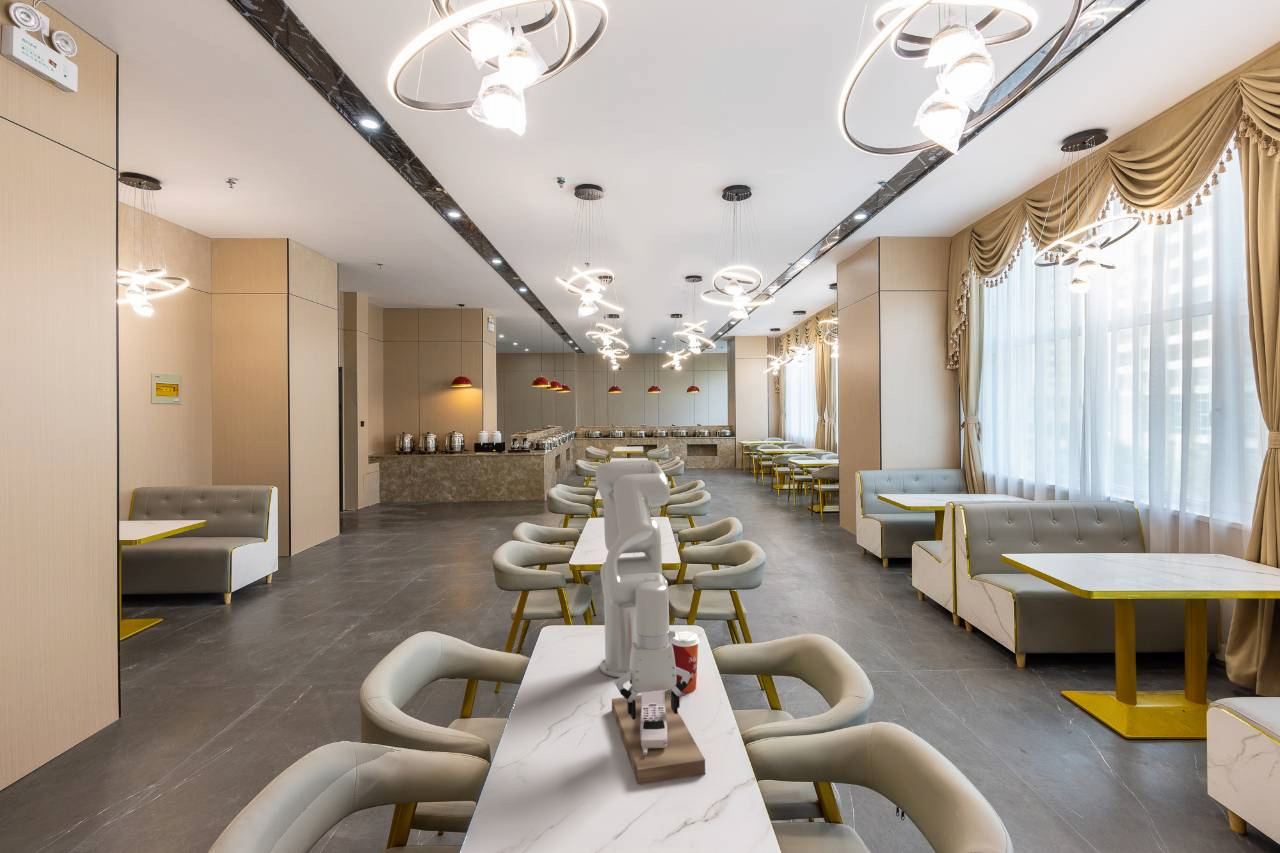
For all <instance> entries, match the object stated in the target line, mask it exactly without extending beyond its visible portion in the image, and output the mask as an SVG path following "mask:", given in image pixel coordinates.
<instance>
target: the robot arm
mask: <svg viewBox="0 0 1280 853" xmlns="http://www.w3.org/2000/svg"><path fill="white" fill-rule="evenodd" d="M595 483H596V487H597V490H598V492H599V495H600V498H601V501H602V504H603V520H604V521H603V522H604V524H603V525H604V544H605V547H606V548H605V549H607V550H606V551H608V552H607V555H606V558H605V559H606V560H605V562H603V563H602V564H601V567H600V572H599V573H600V581H601V587H602V592H603V593H602V594H603V603H604V604H603V607H604V609H603V610H604V612H603V613H604V648H605V649H604V652H605V658H604V659H602V661H601V662H600V664H599V669H600V672H601V673H603V674H604V675H606V676H609V677H612V678H613V677H614V678H617V679H615V681H614V684H615V686H616V688H617V690H618V691H619V693H620V695H621V696H622V697H625V698H626V699H627V707H628V714H630V715H631V717H632V719H633V720H634V719H636V703H635V700H634V699H635V697H636V696H638V695H639V694H641V693H643V692H652V691H660V690H665V691H667V690H671V692H670V699H671V709H672V710H673V712H674V714H678V713H679V711H678V710H679V709H680V708H681V707H680V705H681V704H680V696H681V695H682V691H683V690H684V689H685V688H686V686H687V683H688V681H689V679H690V677H691V675H690V673H689V672H688V671H686V670H683V669H681V668H678V667H676V665H675V657H674V651H673V646H672V643H671V641H670V640H671V638H673V637H675V636H676V635H675V633H676V631H675V630H673V631H672V630H670V611H669V610H670V606H669V605H670V602H669V600H670V598H669V596H670V595H669V594H670V593H669V584H668V580H667V579H666V578H665V576H664V575H663V565H662V564H663V562H662V561H663V560H662V556H663V554H662V537H661V536H662V534H661V530H660V526H659V523H658V522H657V521H656V520H655V519H653V518H652V516H651V511H650V510H651V509H650V507H657V506H659V507H660V506H665V505H667V504H668V502H669V500H670V496H671V489H670V483H669V480H668V478H667V476H666V474H665V472H664V471H663V469H662V468H661V467H660V465H659V464H658V463H657V462H656V461H654V460H650V459H649V460H646V459H644V460H641V459H640V460H617V461H616V460H615V461H607V462H603V463H601V464H599V465H598V466H597V467H596V469H595ZM636 553H643V554H644V555H642V556H632V557H631V556H628V557H620V556H621V555H622V554H623V555H624V554H636ZM676 674H677V675H680V676H682V680H680V682H679V683H678V684H677V685H676V681H677V678H676ZM628 682H629V684H630V686H629V688H628V689H626V688H625V687H624V685H625V684H626V683H628Z"/></svg>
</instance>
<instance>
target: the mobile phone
mask: <svg viewBox="0 0 1280 853" xmlns="http://www.w3.org/2000/svg"><path fill="white" fill-rule="evenodd" d="M665 692H666V690H660V691H652V692H643V693H640V695H641V700H642V705H641V707H642V708H641V718H640V740H641V746H642V749H643V755H645V756H646V755H647V752H648V748H665V747H667V739H668V732H667V717H666V710H665Z"/></svg>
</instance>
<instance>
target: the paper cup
mask: <svg viewBox="0 0 1280 853" xmlns="http://www.w3.org/2000/svg"><path fill="white" fill-rule="evenodd" d="M675 635H676V636H675V637H673V638H671V640H670V641H671V643H672V646H673V651H674V657H675V665H676V667H678V668H681V669H683V670H686V671H688V672H689V673H690V675H691V677H690V679H689V681H688V683H687V686H686V688H685V689H684V690H683V691H682V692H681V694H682V693H683V694H684V693H685V694H689V693H693V692H694V691H696V689H697V677H698V676H697V675H698V657H699V656H698V655H699V643H700V639H699V637H698V634H697V633H695V632H692V631H687V630H686V631H675ZM676 678H677V681H676V685H677V684H678V683H679V682H680V680H682V676H680V675H677V674H676Z"/></svg>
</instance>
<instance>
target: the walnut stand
mask: <svg viewBox="0 0 1280 853" xmlns="http://www.w3.org/2000/svg"><path fill="white" fill-rule="evenodd" d="M634 700H635V703H636V719H634V720H633V719H632V717H631V715H630V714H628V707H627V699H626V698H625V697H623V696H622V697H615V698H611V712H612V714H613V717H614V720H615V722H616V726H617V729H618V731H619V734H620V738H621V740H622V742H623V745H624V749H625V752H626V754H627V755H626V756H627V757H628V760H629V763H630V766H631V768H632V772H633V774H634V777H635V780H636V783H637V785H645V784H650V783H657V782H663V781H669V780H676V779H683V778H689V777H696V776H702V774H703V775H706V759H705V757H704V755H703V753H702V752H701V750H700V748H699V747H698V745H697V743H696V741H695V739H694V737H693V736H692V734H691V732H690V731H689V729H688V727H687V725H686V724H685V722H684V720H683V719H682V716H681V715H680V713H679V712H678V714H674V712H673V710H672V709H671V696H670V695H669V693H668V692H667V691H665V710H666V717H667V732H668V739H667V747H665V748H648V752H647V755H646V756H645V755H643V749H642V746H641V740H640V718H641V708H642V707H641V705H642V700H641V694H637V696H636V697H635V699H634Z"/></svg>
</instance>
